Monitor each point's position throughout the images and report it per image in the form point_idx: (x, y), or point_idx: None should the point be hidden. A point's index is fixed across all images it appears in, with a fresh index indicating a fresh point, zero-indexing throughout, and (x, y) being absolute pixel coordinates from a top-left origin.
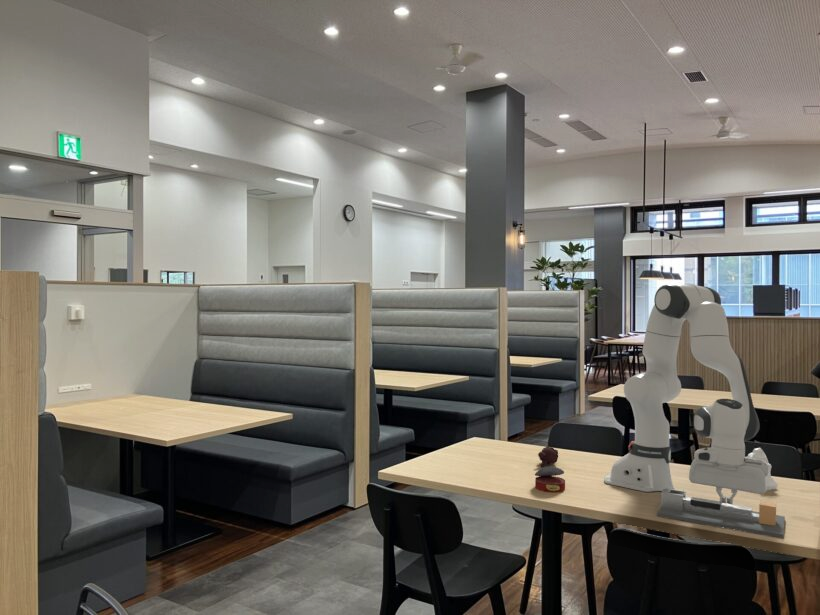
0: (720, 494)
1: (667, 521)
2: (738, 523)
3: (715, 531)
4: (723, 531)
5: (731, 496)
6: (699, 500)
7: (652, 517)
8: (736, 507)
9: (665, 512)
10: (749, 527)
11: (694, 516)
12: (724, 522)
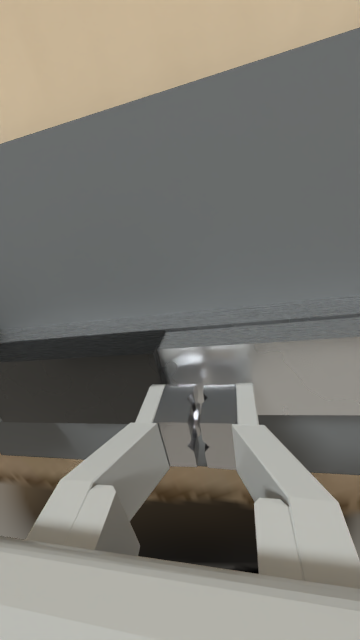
0: (146, 493)
1: (63, 470)
2: (296, 432)
3: (216, 491)
4: (241, 482)
5: (256, 499)
6: (41, 412)
7: (14, 458)
8: (287, 396)
9: (13, 441)
10: (354, 460)
11: (104, 434)
12: None
